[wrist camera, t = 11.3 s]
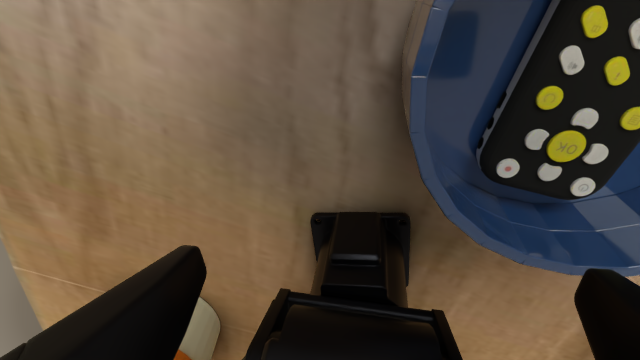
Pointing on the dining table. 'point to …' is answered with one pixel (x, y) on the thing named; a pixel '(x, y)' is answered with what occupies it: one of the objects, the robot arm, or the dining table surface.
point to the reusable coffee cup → (200, 334)
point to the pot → (469, 126)
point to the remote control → (569, 102)
